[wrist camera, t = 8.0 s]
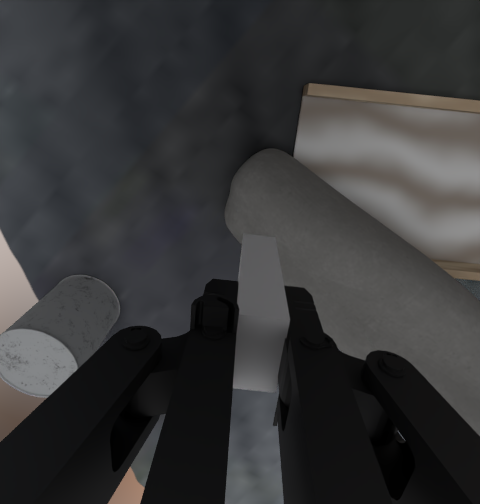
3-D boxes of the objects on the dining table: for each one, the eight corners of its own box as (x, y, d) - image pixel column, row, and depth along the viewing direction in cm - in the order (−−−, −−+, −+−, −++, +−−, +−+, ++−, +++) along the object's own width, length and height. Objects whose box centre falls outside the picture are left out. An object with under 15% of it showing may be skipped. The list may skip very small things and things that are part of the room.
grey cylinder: (81, 261, 44) (21, 312, 33) (133, 307, 47) (95, 370, 35) (40, 300, 47) (-28, 360, 36) (92, 342, 50) (44, 410, 38)
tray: (303, 85, 35) (309, 82, 31) (605, 117, 35) (647, 117, 31) (278, 249, 42) (281, 262, 39) (527, 274, 42) (553, 289, 39)
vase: (205, 176, 27) (502, 471, 22) (302, 106, 31) (572, 342, 26) (203, 234, 39) (398, 437, 34) (273, 177, 43) (457, 351, 38)
